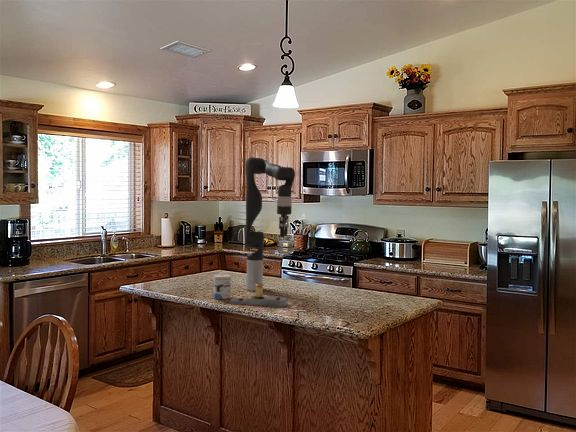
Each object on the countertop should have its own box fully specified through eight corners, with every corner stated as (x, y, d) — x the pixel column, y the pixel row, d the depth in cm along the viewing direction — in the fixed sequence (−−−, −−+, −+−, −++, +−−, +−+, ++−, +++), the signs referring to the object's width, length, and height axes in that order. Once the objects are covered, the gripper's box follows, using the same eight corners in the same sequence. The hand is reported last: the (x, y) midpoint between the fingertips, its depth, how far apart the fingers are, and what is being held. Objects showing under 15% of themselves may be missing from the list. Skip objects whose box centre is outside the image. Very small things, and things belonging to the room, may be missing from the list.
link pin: (255, 302, 264) (256, 283, 263) (263, 303, 263) (264, 283, 263) (253, 304, 260) (254, 284, 259) (261, 305, 259) (262, 285, 258)
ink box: (214, 299, 270) (214, 276, 270) (213, 297, 275) (213, 275, 275) (230, 298, 273) (231, 276, 272) (229, 296, 277) (229, 274, 277)
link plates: (233, 300, 267) (233, 293, 267) (287, 304, 262) (287, 296, 262) (229, 303, 260) (230, 296, 260) (285, 307, 256) (285, 299, 255)
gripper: (279, 204, 281) (279, 234, 281) (274, 205, 267) (274, 237, 267) (293, 205, 279) (292, 235, 280) (289, 205, 265) (288, 237, 266)
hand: (283, 236), depth 274 cm, fingers open, 8 cm apart
